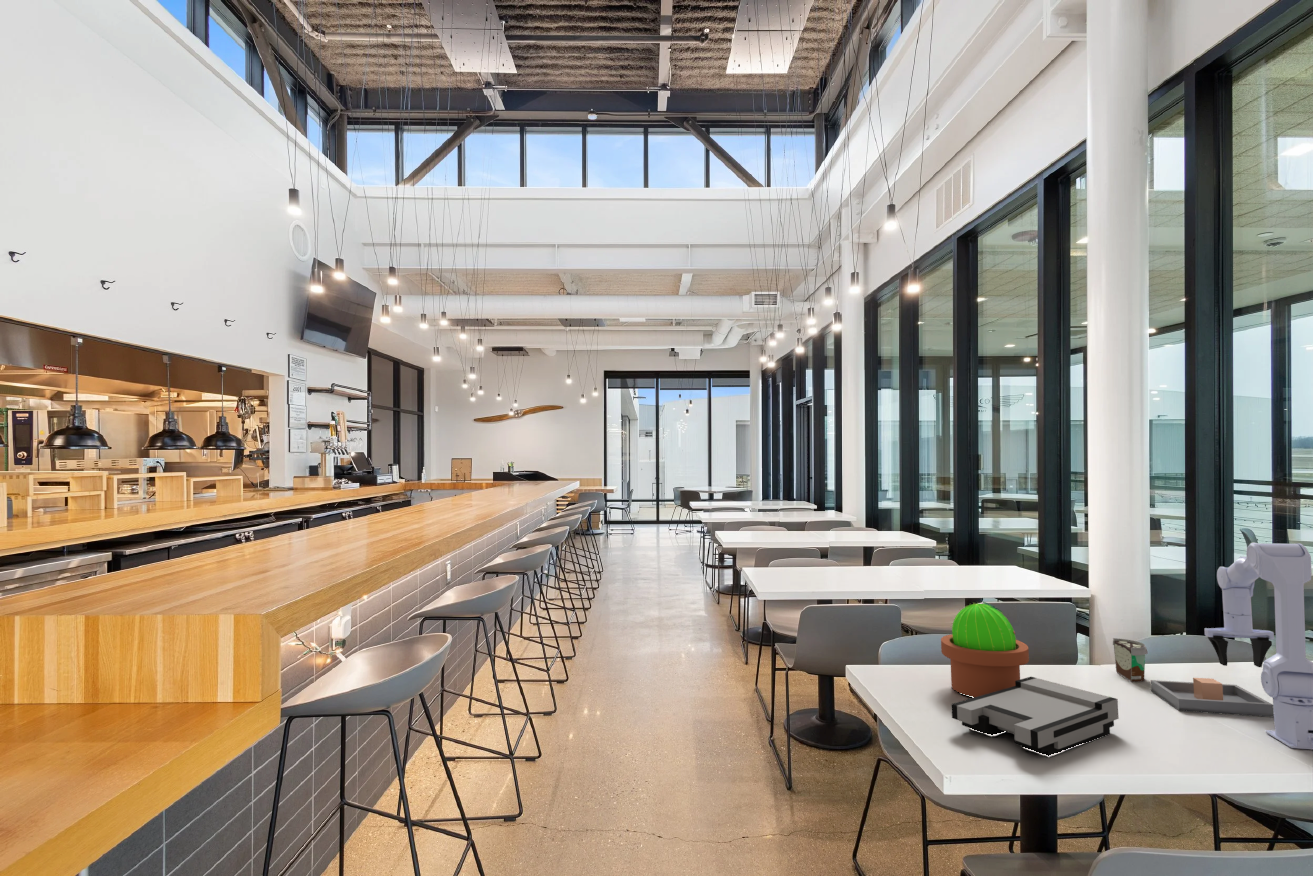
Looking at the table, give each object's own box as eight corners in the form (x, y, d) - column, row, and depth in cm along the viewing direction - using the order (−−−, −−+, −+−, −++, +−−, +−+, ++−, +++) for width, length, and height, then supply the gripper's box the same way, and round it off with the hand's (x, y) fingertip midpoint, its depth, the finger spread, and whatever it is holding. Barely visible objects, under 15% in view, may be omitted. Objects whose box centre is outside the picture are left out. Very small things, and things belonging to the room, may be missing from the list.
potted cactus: (953, 703, 180) (950, 608, 181) (935, 678, 201) (931, 593, 202) (1043, 707, 176) (1038, 610, 177) (1014, 681, 197) (1010, 595, 199)
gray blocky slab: (952, 734, 160) (951, 698, 160) (1032, 708, 176) (1031, 676, 176) (1039, 766, 142) (1037, 726, 142) (1119, 734, 158) (1117, 699, 158)
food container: (1158, 684, 192) (1156, 649, 193) (1134, 683, 193) (1132, 648, 194) (1136, 671, 204) (1134, 638, 205) (1114, 671, 206) (1112, 637, 206)
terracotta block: (1223, 703, 174) (1222, 684, 174) (1203, 702, 175) (1201, 682, 175) (1214, 698, 178) (1212, 678, 178) (1194, 696, 179) (1193, 677, 179)
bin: (1273, 717, 166) (1273, 704, 166) (1179, 711, 171) (1178, 699, 171) (1236, 696, 181) (1236, 684, 182) (1151, 691, 187) (1150, 680, 187)
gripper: (1261, 611, 180) (1264, 662, 179) (1197, 609, 184) (1200, 659, 183) (1277, 616, 173) (1281, 670, 173) (1211, 614, 177) (1214, 667, 176)
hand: (1240, 665), depth 177 cm, fingers open, 7 cm apart
